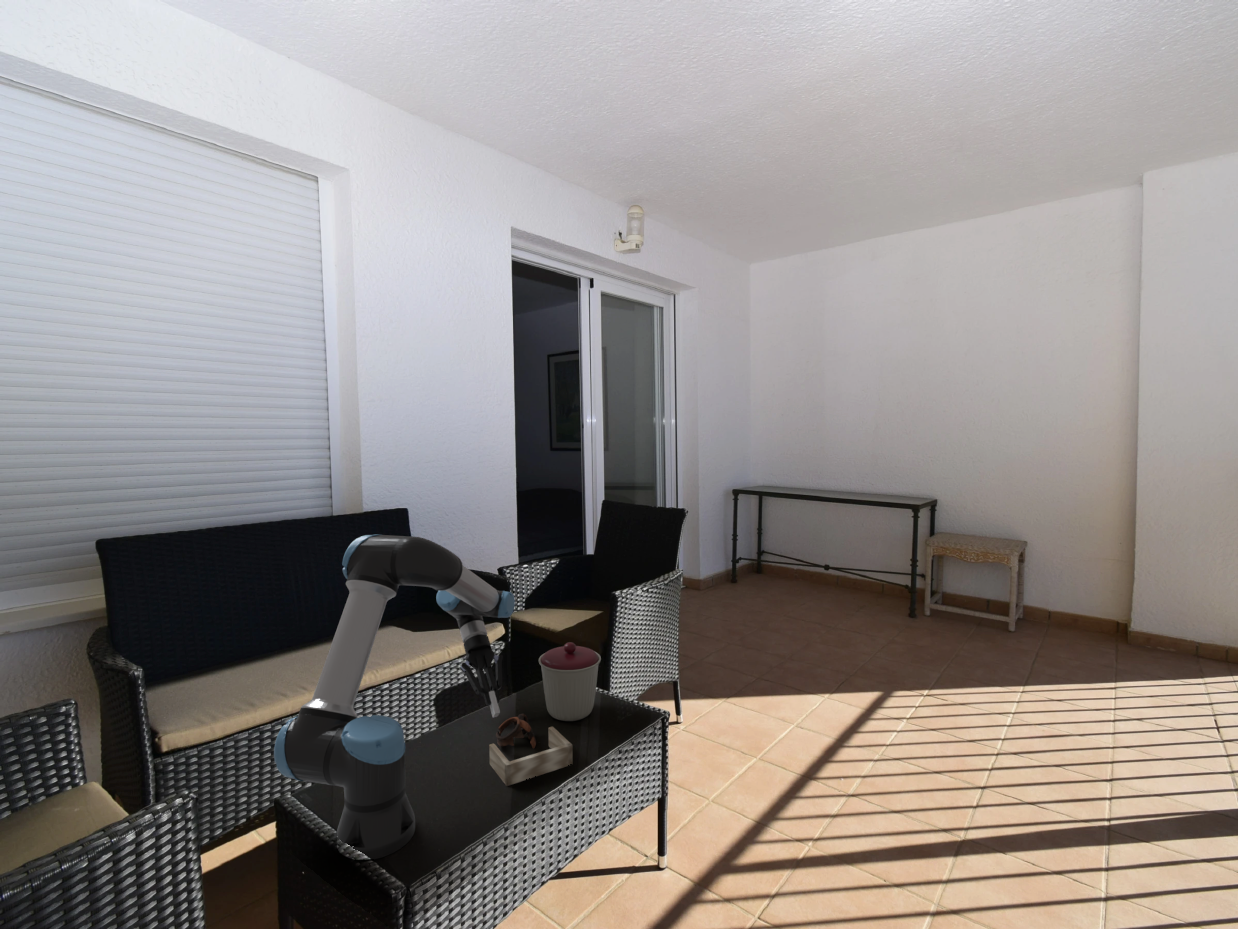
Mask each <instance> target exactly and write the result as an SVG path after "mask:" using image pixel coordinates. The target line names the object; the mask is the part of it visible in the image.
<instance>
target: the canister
mask: <svg viewBox="0 0 1238 929" xmlns="http://www.w3.org/2000/svg"><path fill="white" fill-rule="evenodd" d="M601 660H602V658H601V655H600V654H599V653H598V652H596V651H595V650H593V649H592V648H589V647H586V646H579V645H576V644H575V643H574V642H570V641H569V642H566V643H565V644H564V645H562V646H558V647H554V648H551V649H549V650H547V651H545V653H543V654H541V655H540V656H539V658H538V663H539V665H540V666H541V675H542V684H543V693H544V699H545V700H544V701H545V705H546V709H547V710H546V711H547V712H548V714H549V715H550V716H551V717H552V718H553V719H555V720H559V721H563V722H576V721H580V720H583V719H585V718H587V717H588V716H589V715H590V714H591V713H592V711H593V708H594V706H595V699H596V691H597V682H598V675H599V674H598V671H599V665H600V663H601Z"/></svg>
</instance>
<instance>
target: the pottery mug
mask: <svg viewBox="0 0 1238 929" xmlns="http://www.w3.org/2000/svg"><path fill="white" fill-rule="evenodd" d="M512 724H513V726H515V727H514V728H513V729H512V730H511V731H510V732H509V733H507V734H505V735H502V734H503V732H504V730H505V729H506V728H507V727H509V726H510V725H512ZM497 728H498V731H497V732H496V733H495V737H496V740H497V741H496V743H497V744H496V745H498V746H499V747H507V746H511V747H512V746H513V747H514V746H515V744H514V739H523V738H525V737H526V736H525V735H527V737H528V740H530V742H529V743H530V745H531V748H532V749H535V747H536V745H537V740H536V737H535V734H534V731H533V729H532V727H531V725H530V724H529V719H528V716H527V715H526V714H525V713H520V714H518V715H517V716H512V717H509V718H507V719H505V721H502V723H501V724H500V725H499V727H497Z"/></svg>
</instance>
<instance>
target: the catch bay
mask: <svg viewBox="0 0 1238 929" xmlns="http://www.w3.org/2000/svg"><path fill="white" fill-rule="evenodd" d="M547 735H548V736H547V737H548V747H549V749H546V750H542V751H539V752H537V753H532V754H529V755H526V756H523V757H520V758H517V759H513V760H511V761H510V760H509V759H508V758H507V757H506V756H505V755H504V753H503V752H502V751H501V750H500V748H498V746H497V744H495V743H491V744H489V745H488V746H489V765H490V767H491V768H492V769H493V770H494V772H495V773H496V774H497V776H498V777H499V779H500V780H501V781H502V783H504V784H505V786H506V787H508V786H509V787H510V786H511V785H514V784H518V783H521V782H523V781H526V779H527V780H530V779H532V778H535V776H536V777H539V776H541V775H544V774H548V773H551V772H554V771H557V770H559V769H560V770H561V769H563V768H565V767H569V766H571V765H570V764H572V765H574V764H573V761H574V760H573V744H572V743H571V742H570V741H569V740H568V739H567V738H566V737H565V736H564V735H562V733H560V732H559V731H558V730H557V729H556V728H555V727H554V726H550V727H548V734H547ZM568 765H569V766H568ZM529 778H530V779H529Z"/></svg>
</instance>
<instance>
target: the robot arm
mask: <svg viewBox="0 0 1238 929" xmlns="http://www.w3.org/2000/svg"><path fill="white" fill-rule="evenodd" d="M341 564H342V566H343V568H342V573H343V576H344V577H345V579H346V582H345V586H346V587H347V589H348V591H349V592H348V593H349V594H348V597H347V599H346V603H345V604H344V608H343V611H342V614H341V616H340V619H339V622H338V625H337V628H336V631H335V633H334V636H333V639H332V641H331V644H330V647H329V651H328V653H327V656H326V658H325V661H324V665H323V668H322V670H321V673H320V675H319V678H318V682H317V684H316V687H315V690H314V692H313V695H312V698H311V699H310V700H309V701H307V702H306V703H304V704H303V705H301V706H300V710H299V712H298V715H297V716H295V717H291V718H290V719H288V720H287V721H286V722H285V724H284V725H282V727H281V728H280V730H279V732H278V733H277V736H276V739H275V743H274V748H273V757H274V763H275V764H276V769H277V771H278V772H279V773H280V774H281V775H282V776H284V777H286V778H289V779H294V780H295V781H298V782H309V783H314V784H315V783H316V784H322V785H328V786H336V787H341V788H343V792H344V793H343V794H344V797H343V798H344V806H343V808H342V814H341V817H340V819H339V823H338V825H337V830H336V832H337V836H338V838H339V839H340V840H341V841H342V842H344V843H347V844H348V845H350V846H351V847H352V846H354V847H353V849H355V850H358V851H360V852H362V853H364V854H365V855H367V856H368V857H370V858H372V859H374V860H378V859H381V858H385V857H387V856H389V855H392V854H394V853H396V852H397V851H399V850H401V849H402V848H403V847H405V845H407V844H408V843H409V842H410V840H412V838H413V836H414V834H415V831H416V818H415V812H414V810H413V807H412V805H411V803H410V801H409V798H408V796H407V792H406V741H405V733H404V729H403V727H402V725H401V724H400V723H399V722H398V721H397V720H396V719H395V718H392V717H390V716H386V715H382V714H380V715H379V714H371V716H368V715H363V716H359V717H358V715H357V713H356V710H355V708H354V705H355V702H356V699H357V696H358V692H359V690H360V687H361V683H362V679H363V677H364V674H365V671H366V668H367V665H368V662H369V659H370V655H371V652H372V650H373V647H374V643H375V641H376V637H377V634H378V631H379V627H380V624H381V621H382V618H383V615H384V612H385V609H386V605H387V602H388V601H389V600H391V599H392V598H395V597H396V596H397V594H398V591H399V590H398V589H399V586H407V587H408V586H411V587H412V586H413V587H415V586H416V587H426V588H432V589H433V590H435V591H437V593H436V597H435V598H436V603H437V605H438V606H439V607H440V608H441V609H442V610H443V611H444V612H446V613H448V614H449V615H450V616H452V617H453V618H454V619H456V622H457V625H458V628H459V632H460V636H461V639H462V643H463V648H464V652H465V655H466V657H465V658H466V659H465V661H464V662H462V663H461V665H460V667H459V670H461V672H463V673H464V674H465V676H466V678H467V680H468V681H469V684H470V685H471V687H472V689H473V691H474V693H475V695H477V696H479V695H481V697H482V698H483V699H484V703H485V705H486V707H488V706H489V709H490V712H491V716H492V718H494V719H495V718H498V717H499V715H500V714H501V710H500V707H499V703H500V701H501V698H500V696H499V693H498V692H499V691H500V690H501V688H502V686H503V670H502V669H503V668H502V665H503V664H502V662H503V658H504V655H502V654H500V655H498V654H495V651H493V649H492V645H491V642H490V638H489V636H488V632H487V628H486V625H485V622H484V618H483V617H487V618H489V617H491V618H498V619H500V618H501V619H502V618H504V619H505V618H509V617H511V616H512V614H513V613H514V610H515V605H516V601H515V600H516V599H515V596H514V593H513V592H510V591H505V590H498V589H497V588H495V587H493V586H492V585H491V584H489V583H488V582H486V581H485V580H484V579H482V578H481V577H480V576H478V575H477V574H475V573H474V572H473V571H471V569H468V568H467V567H466V566H464V564H463V562H462V559H461V558H460V557H459V556H458V555H457V554H456V553H454V552H452V551H451V550H449V549H447V547H444V546H442V545H441V544H438V542H435V541H433V540H429V539H427V538H424V537H421V536H414V535H413V536H407V535H406V536H404V535H391V534H390V535H385V534H381V533H379V534H378V533H377V534H365V535H362V536H359V537H357V538H355V539H354V540H353V541H352V542H351V543H350V544H349V545H348V547H347V549H346V550H345V552H344V555H343V558H342V562H341ZM493 660H494V663H495V676H494V672H493V669H492V668H493V667H492V662H493ZM472 668H473V669H475V674H476V675H477V677H476V675H475V674H474V671H473V670H472ZM477 678H478V679H477ZM486 678H487V679H486ZM488 685H489V687H488ZM489 689H490V691H489Z"/></svg>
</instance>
